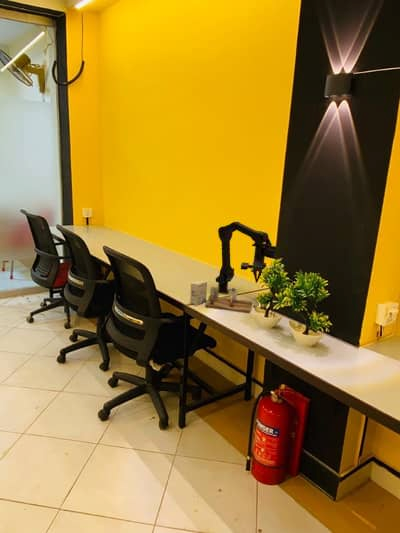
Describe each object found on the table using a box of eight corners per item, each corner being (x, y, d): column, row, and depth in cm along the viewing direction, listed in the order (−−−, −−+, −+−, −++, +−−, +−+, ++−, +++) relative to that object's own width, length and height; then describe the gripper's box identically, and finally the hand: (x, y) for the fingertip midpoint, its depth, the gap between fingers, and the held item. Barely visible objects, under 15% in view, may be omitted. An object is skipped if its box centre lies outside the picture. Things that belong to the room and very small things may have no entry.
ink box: (199, 299, 221) (200, 279, 218) (206, 301, 218) (207, 281, 215) (189, 303, 214) (190, 282, 211) (196, 305, 211) (198, 284, 208)
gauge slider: (229, 299, 219) (230, 287, 217) (236, 300, 218) (237, 288, 217) (227, 304, 210) (228, 292, 208) (234, 305, 210) (235, 293, 208)
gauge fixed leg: (211, 296, 221) (212, 286, 220) (218, 297, 220) (219, 287, 219) (208, 302, 212) (208, 291, 211) (215, 303, 211) (216, 292, 210)
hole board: (209, 299, 222) (209, 294, 221) (251, 305, 218) (252, 300, 217) (204, 307, 210) (205, 302, 209) (249, 313, 206) (250, 308, 205)
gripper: (241, 256, 209) (238, 284, 213) (276, 260, 205) (273, 289, 209) (243, 252, 219) (240, 278, 223) (276, 256, 216) (273, 283, 220)
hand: (256, 282), depth 219 cm, fingers closed
